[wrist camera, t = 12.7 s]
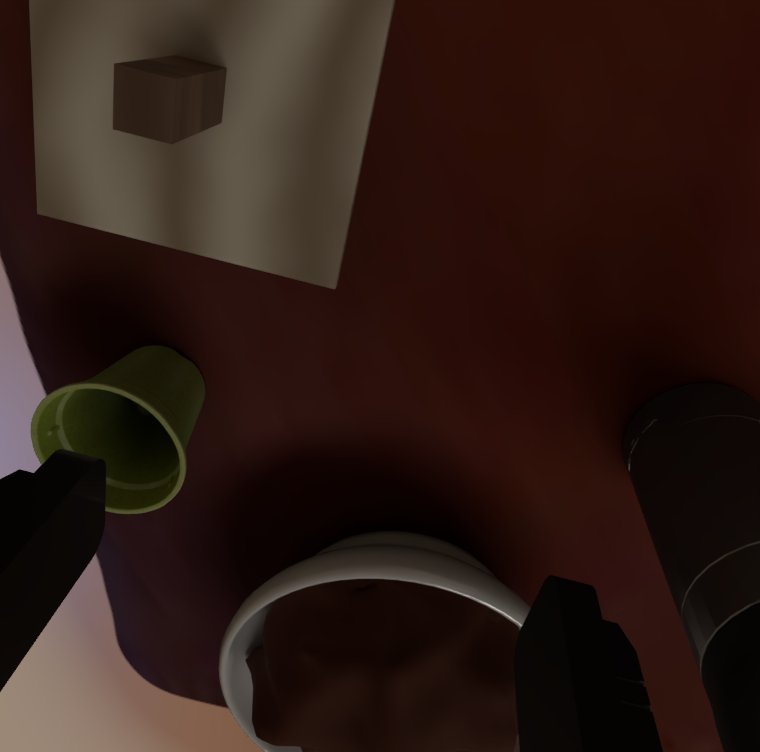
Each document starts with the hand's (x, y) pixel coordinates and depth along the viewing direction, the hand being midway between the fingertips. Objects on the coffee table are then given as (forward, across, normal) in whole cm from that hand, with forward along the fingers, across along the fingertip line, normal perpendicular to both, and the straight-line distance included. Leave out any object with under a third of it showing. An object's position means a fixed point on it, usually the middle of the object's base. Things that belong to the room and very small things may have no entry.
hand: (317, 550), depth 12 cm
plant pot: (+30, +14, +18) cm, 38 cm away
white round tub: (+30, -7, +33) cm, 45 cm away
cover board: (+24, +11, -3) cm, 27 cm away
